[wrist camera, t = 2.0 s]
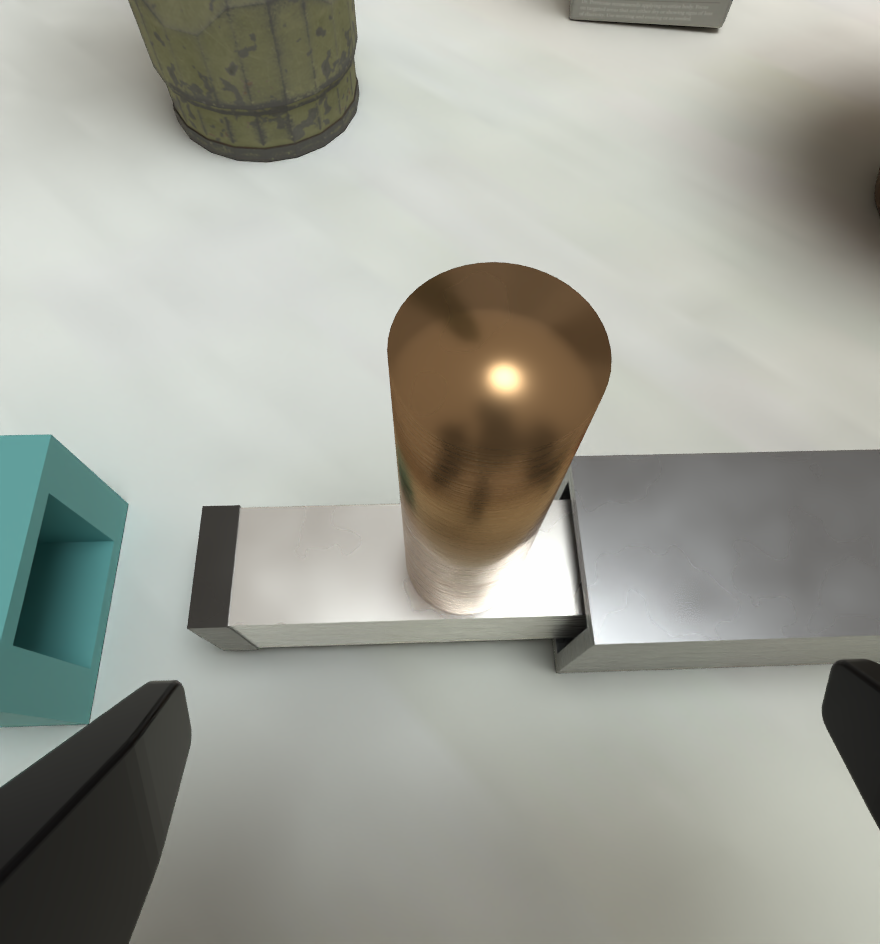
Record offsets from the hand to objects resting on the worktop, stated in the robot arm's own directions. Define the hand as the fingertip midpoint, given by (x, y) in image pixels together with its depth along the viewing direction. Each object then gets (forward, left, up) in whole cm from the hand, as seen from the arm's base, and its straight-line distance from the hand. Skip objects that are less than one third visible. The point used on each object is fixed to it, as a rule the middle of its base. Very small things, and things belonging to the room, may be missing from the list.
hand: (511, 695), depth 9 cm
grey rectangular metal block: (+10, -4, -11) cm, 16 cm away
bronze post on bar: (+6, 0, -10) cm, 12 cm away
